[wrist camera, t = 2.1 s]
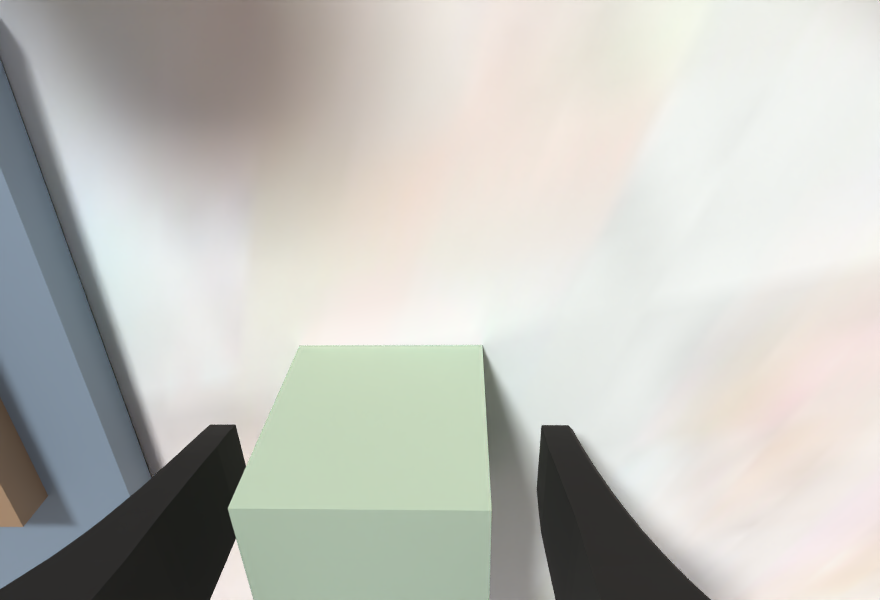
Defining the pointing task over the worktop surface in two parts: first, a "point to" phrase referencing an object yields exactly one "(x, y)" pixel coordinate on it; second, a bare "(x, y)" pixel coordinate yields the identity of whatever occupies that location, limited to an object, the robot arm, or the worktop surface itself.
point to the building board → (50, 377)
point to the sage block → (370, 478)
